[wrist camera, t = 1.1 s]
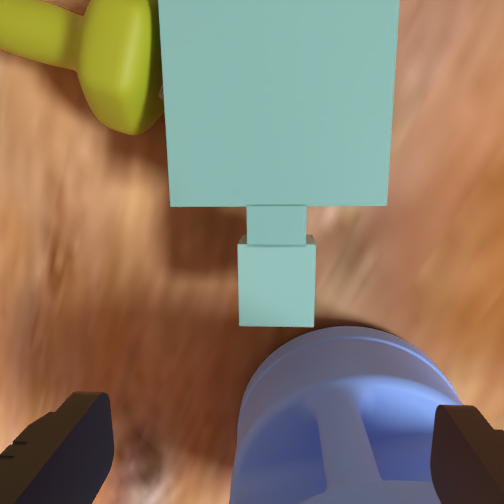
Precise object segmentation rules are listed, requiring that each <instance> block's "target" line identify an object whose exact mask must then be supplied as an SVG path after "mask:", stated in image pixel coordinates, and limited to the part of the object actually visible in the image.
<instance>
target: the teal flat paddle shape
mask: <svg viewBox="0 0 504 504" xmlns="http://www.w3.org/2000/svg"><path fill="white" fill-rule="evenodd" d="M399 2H400V0H158V6H159V23H160V40H161V57H162V74H163V90H164V107H165V124H166V141H167V158H168V175H169V192H170V207H238V206H247V235H242V237H241V239H240V241H239V242H238V244H237V246H238V292H239V326H269V327H314V303H315V260H316V244H315V241H314V239H313V237H312V235H306V213H307V206H387V194H388V178H389V162H390V146H391V130H392V114H393V98H394V82H395V66H396V50H397V34H398V18H399Z"/></svg>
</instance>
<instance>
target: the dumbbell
mask: <svg viewBox="0 0 504 504" xmlns="http://www.w3.org/2000/svg"><path fill="white" fill-rule="evenodd" d="M0 50H3V51H6V52H9V53H11V54H14V55H17V56H20V57H23V58H26V59H30V60H33V61H37V62H40V63H44V64H48V65H52V66H56V67H61V68H66V69H71V70H74V71H75V72H77V75H78V79H79V83H80V86H81V88H82V91H83V94H84V96H85V98H86V101H87V103H88V105H89V107H90V109H91V111H92V112H93V114H94V115H95V117H96V118H97V119H98V121H99V122H101V123H102V124H103V125H105V126H106V127H108V128H110V129H113V130H115V131H118V132H121V133H125V134H128V135H139V134H142V133H144V132H146V131H147V130H148V129H149V128H151V127H152V126H153V125H154V124H155V122H156V121H157V120H158V119H159V118H160V117H161V116H162V115H163V113H164V112H165V107H164V90H163V74H162V57H161V40H160V23H159V6H158V0H90V2H89V4H88V6H87V8H86V10H85V13H84V16H81V15H78V14H75V13H73V12H71V11H68V10H66V9H64V8H62V7H59V6H56V5H54V4H51V3H48V2H45V1H42V0H0Z"/></svg>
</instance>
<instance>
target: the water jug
mask: <svg viewBox="0 0 504 504" xmlns="http://www.w3.org/2000/svg"><path fill="white" fill-rule="evenodd" d="M438 405H463V404H462V402H461V401H460V400H459V398H458V396H457V394H456V392H455V390H454V388H453V387H452V385H451V383H450V382H449V381H448V380H447V378H446V377H445V376H444V375H443V373H442V372H441V371H440V369H439V368H438V367H437V366H436V365H435V363H434V362H433V361H432V360H431V359H430V358H429V357H428V356H426V355H425V354H424V353H423V352H422V351H420V350H419V349H418V348H416V347H415V346H413V345H412V344H410V343H409V342H407V341H405V340H403V339H401V338H399V337H397V336H395V335H392V334H390V333H387V332H384V331H380V330H376V329H372V328H366V327H358V326H337V327H329V328H323V329H319V330H315V331H311V332H308V333H306V334H303V335H301V336H298V337H296V338H294V339H292V340H290V341H289V342H287V343H285V344H284V345H282V346H281V347H279V348H278V349H277V350H275V351H274V352H273V353H272V354H271V355H269V356H268V357H267V358H266V359H265V360H264V361H263V363H262V364H261V365H260V366H259V367H258V369H257V370H256V371H255V373H254V374H253V376H252V378H251V379H250V381H249V383H248V385H247V388H246V390H245V393H244V395H243V399H242V402H241V407H240V413H239V419H238V428H237V446H236V452H235V459H234V465H233V472H232V481H231V491H230V501H229V504H441V502H440V500H439V498H438V496H437V494H436V491H435V489H434V486H433V482H432V477H431V470H430V457H431V448H432V438H433V428H434V418H435V411H436V408H437V406H438Z"/></svg>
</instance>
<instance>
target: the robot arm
mask: <svg viewBox="0 0 504 504" xmlns="http://www.w3.org/2000/svg"><path fill="white" fill-rule="evenodd" d="M113 456H114V440H113V430H112V420H111V409H110V400H109V397H108V395H107V393H104V392H74V393H72V394H71V395H70V396H69V398H68V399H67V400H66V401H65V402H64V403H63V404H62V405H61V406H60V407H59V408H58V410H57V411H56V412H49V413H47V414H46V415H44V416H43V417H41V418H39V419H38V420H36V421H35V422H33V423H31V424H30V425H28V427H27V428H26V429H25V430H24V431H23V432H22V433H21V434H20V435H19V436H18V437H17V438H16V439H15V440H14V441H13V444H12V445H9V446H8V447H7V448H6V449H5V450H4V451H3V452H2V453H1V454H0V504H92V502H93V501H94V499H95V497H96V495H97V493H98V492H99V490H100V488H101V486H102V484H103V483H104V481H105V479H106V477H107V475H108V473H109V471H110V468H111V465H112V461H113ZM430 470H431V477H432V482H433V486H434V489H435V491H436V494H437V496H438V498H439V500H440V502H441V504H504V431H503V430H494V429H493V428H492V427H491V425H490V424H489V423H488V422H487V420H486V419H485V418H484V417H483V415H482V414H481V413H480V412H479V410H478V409H477V408H476V407H474V406H468V405H438V406H437V408H436V411H435V418H434V428H433V438H432V448H431V457H430Z"/></svg>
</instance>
